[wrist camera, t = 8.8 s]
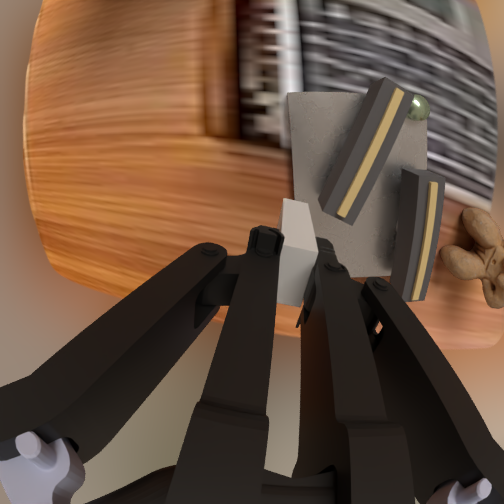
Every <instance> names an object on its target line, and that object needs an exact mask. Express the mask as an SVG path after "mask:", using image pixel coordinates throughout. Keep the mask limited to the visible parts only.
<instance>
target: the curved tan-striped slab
mask: <svg viewBox="0 0 504 504" xmlns="http://www.w3.org/2000/svg"><path fill="white" fill-rule="evenodd" d="M444 191H445V177H442V176H440V175H437V174H435V173H432V172H430V171H427V170H422V169H409V168H401V191H400V206H399V218H398V221H397V223H396V231H397V236H396V245H395V252H394V259H393V265H392V271H391V277H390V283H391V285H392V286H393V288H394V289H395V290H396V291H397V293H398V294H399V295H400V296H401V298H402V299H403V300H404V301H405V302H412V301H423V300H424V299H425V296H426V292H427V288H428V285H429V281H430V276H431V272H432V268H433V263H434V259H435V254H436V248H437V243H438V237H439V231H440V225H441V218H442V210H443V201H444Z"/></svg>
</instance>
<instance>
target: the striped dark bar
mask: <svg viewBox="0 0 504 504" xmlns="http://www.w3.org/2000/svg"><path fill="white" fill-rule="evenodd" d="M413 99H414V95H413V94H411V93H410V92H408V91H407V90H405V89H404V88H402V87H401V86H399V85H397V84H396V83H394V82H393V81H391V80H389V79H388V78H386V77H384V78H382V79H380V80H378V81H376V82H374V83H372V84H371V85H370V87H369V90H368V92H367V94H366V96H365V99H364V101H363V103H362V106H361V108H360V110H359V112H358V114H357V117H356V119H355V121H354V123H353V126H352V128H351V130H350V132H349V134H348V136H347V139H346V141H345V143H344V145H343V147H342V149H341V151H340V154H339V156H338V158H337V160H336V162H335V164H334V166H333V168H332V170H331V172H330V174H329V177H328V179H327V181H326V183H325V185H324V187H323V189H322V191H321V193H320V195H319V197H318V202H319V204H320V207H321V209H322V212H324V213H326V214H329V215H331V216H333V217H335V218H337V219H339V220H341V221H343V222H345V223H347V224H349V225H351V226H353V224H354V222H355V221H356V219H357V217H358V215H359V213H360V211H361V209H362V208H363V206H364V204H365V202H366V200H367V198H368V196H369V194H370V192H371V190H372V188H373V186H374V184H375V183H376V181H377V179H378V177H379V174H380V172H381V170H382V168H383V166H384V164H385V162H386V160H387V158H388V156H389V154H390V152H391V150H392V147H393V145H394V143H395V141H396V139H397V136H398V134H399V132H400V130H401V127H402V125H403V123H404V121H405V118H406V116H407V113H408V111H409V109H410V106H411V104H412V101H413Z"/></svg>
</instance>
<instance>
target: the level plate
mask: <svg viewBox="0 0 504 504" xmlns="http://www.w3.org/2000/svg"><path fill="white" fill-rule="evenodd" d="M287 96H288V107H289V119H290V131H291V145H292V161H293V178H294V199H295V201H299V202H304V203H308V206H309V211H310V215H311V220H312V224H313V229H314V233H315V236H316V237H320V238H325V239H328V240H329V241H330V242H331V243H332V244H333V247H334V250H335V254H336V257H337V260H338V262H339V263H341V264H343V265H344V266H345V267H346V268H347V270H348V272H349V275H350V277H373V276H391V271H392V265H393V259H394V252H395V245H396V236H397V231H396V223H397V221H398V218H399V206H400V191H401V168H409V169H422V170H427V120H426V119H427V118H428V116H429V114H430V107H429V104H428V102H427V101H426V99H425V98H423V97H422V96H420V95H414V99H413V101H412V104H411V106H410V109H409V111H408V113H407V116H406V118H405V121H404V123H403V125H402V127H401V130H400V132H399V134H398V136H397V139H396V141H395V143H394V145H393V147H392V150H391V152H390V154H389V156H388V158H387V160H386V162H385V164H384V166H383V168H382V170H381V172H380V174H379V177H378V179H377V181H376V183H375V184H374V186H373V188H372V190H371V192H370V194H369V196H368V198H367V200H366V202H365V204H364V206H363V208H362V209H361V211H360V213H359V215H358V217H357V219H356V221H355V222H354V224H353V226H351V225H349V224H347V223H345V222H343V221H341V220H339V219H337V218H335V217H333V216H331V215H329V214H326V213H324V212H322V209H321V207H320V204H319V202H318V197H319V195H320V193H321V191H322V189H323V187H324V185H325V183H326V181H327V179H328V177H329V174H330V172H331V170H332V168H333V166H334V164H335V162H336V160H337V158H338V156H339V154H340V151H341V149H342V147H343V145H344V143H345V141H346V139H347V136H348V134H349V132H350V130H351V128H352V126H353V123H354V121H355V119H356V117H357V114H358V112H359V110H360V108H361V106H362V103H363V101H364V99H365V96H366V94H360V93H341V92H291V93H287Z"/></svg>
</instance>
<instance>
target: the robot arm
mask: <svg viewBox="0 0 504 504" xmlns="http://www.w3.org/2000/svg"><path fill="white" fill-rule="evenodd" d="M303 298H304V305H303V308H302V311H301V314H300V316H299V319H298V322H297V324H296V328H298V327H299V325H300V324H301V390H300V391H301V392H300V393H301V394H300V426H299V448H298V459H297V462H296V465H295V467H294V470H293V473H292V477H291V478H290V477H286V476H284V475H280V474H277V473H274V472H271V471H268V470H265V469H264V464H265V456H266V448H267V440H268V431H269V418H268V416H267V415H266V404H267V396H268V387H269V378H270V369H271V358H272V348H273V338H274V327H275V316H276V304H277V303H281V304H286V305H291V306H296V307H300V306H301V303H302V301H303ZM220 306H229V308H228V312H227V315H226V318H225V321H224V325H223V328H222V331H221V334H220V338H219V341H218V344H217V347H216V350H215V354H214V357H213V360H212V363H211V367H210V370H209V373H208V376H207V380H206V383H205V386H204V389H203V393H202V396H201V399H200V401H199V402H197V404H196V406H195V408H194V411H193V414H192V416H191V420H190V423H189V426H188V429H187V432H186V436H185V439H184V442H183V445H182V449H181V452H180V455H179V458H178V461H177V465H173V466H169V467H165V468H162V469H159V470H156V471H154V472H151V473H150V474H148V475H146V476H144V477H142V478H140V479H138V480H136V481H134V482H132V483H130V484H128V485H127V486H124V487H122V488H120V489H118V490H116V491H113V492H111V493H109V494H107V495H105V496H102V497H100V498H97V499H95V500H93V501H90V502H88V503H85V504H415V497H416V499H417V501H418V502H419V503H420V504H504V450H503V449H502V448H501V447H500V446H499V445H498V444H497V442H496V441H495V440H494V439H493V438H492V436H491V434H490V432H489V430H488V428H487V426H486V424H485V422H484V420H483V419H482V417H481V415H480V413H479V411H478V410H477V408H476V406H475V404H474V403H473V401H472V400H471V397H470V396H469V394H468V392H467V391H466V389H465V387H464V386H463V384H462V382H461V381H460V379H459V378H458V376H457V375H456V373H455V371H454V370H453V368H452V367H451V365H450V364H449V362H448V361H447V359H446V358H445V356H444V355H443V354H442V352H441V350H440V349H439V347H438V346H437V345H436V343H435V342H434V340H433V339H432V338H431V336H430V335H429V333H428V332H427V331H426V329H425V328H424V326H423V325H422V324H421V322H420V321H419V320H418V318H417V317H416V316H415V314H414V313H413V312H412V310H411V309H410V308H409V307H408V305H407V304H406V303H405V301H404V300H403V299H402V298H401V296H400V295H399V294H398V293H397V291H396V290H395V289H394V288H393V286H392V285H391V284H390V283H388V282H387V281H385V280H384V279H381V278H380V277H368V278H367V279H366V281H365V283H364V284H362V283H359V282H357V281H355V280H352V279H351V278H350V275H349V272H348V270H347V268H346V267H345V266H344V265H343V264H341V263H339V262H338V260H337V257H336V254H335V250H334V247H333V244H332V243H331V242H330V241H329V240H328V239H325V238H320V237H316V236H315V233H314V229H313V224H312V220H311V215H310V211H309V206H308V203H304V202H299V201H295V200H291V199H286V198H284V199H283V204H282V208H281V213H280V217H279V222H278V226H277V229H276V228H271V227H267V226H262V225H260V226H258V227H255V228H252V229H251V231H250V236H249V241H248V247H247V251H246V253H245V254H243V255H238V256H227V250H226V249H225V248H224V247H222V246H220V245H218V244H214V243H209V242H206V243H200V244H198V245H195V246H194V247H192V248H191V249H190V250H188V251H187V252H185V253H184V254H183V255H181V256H180V257H179V258H177V259H176V260H174V261H173V262H172V263H170V264H169V265H168V266H166V267H165V268H163V269H162V270H161V271H159V272H158V273H157V274H155V275H154V276H153V277H151V278H150V279H149V280H147V281H146V282H145V283H143V284H142V285H141V286H139V287H138V288H137V289H135V290H134V291H133V292H132V293H130V294H129V295H128V296H126V297H125V298H124V299H122V300H121V301H120V302H119V303H117V304H116V305H115V306H113V307H112V308H111V309H110V310H109V311H107V312H106V313H105V314H103V315H102V316H101V317H99V318H98V319H97V320H96V321H94V322H93V323H92V324H91V325H89V326H88V327H87V328H86V329H84V330H83V331H82V332H81V333H79V334H78V335H77V336H76V337H75V338H74V339H72V340H71V341H70V342H68V343H67V344H66V345H65V346H64V347H63V348H61V349H60V350H59V351H58V352H56V353H55V354H54V355H53V356H52V357H51V358H49V359H48V360H47V361H46V362H45V363H44V364H42V365H41V366H40V367H39V368H38V369H37V370H35V371H34V372H33V373H32V374H31V375H29V376H27V377H25V378H22V379H20V380H17V381H15V382H12V383H10V384H7V385H5V386H3V387H0V481H1V483H2V485H3V488H4V490H5V491H6V494H7V496H8V498H9V500H10V502H11V504H70V501H71V498H72V496H73V494H74V493H75V492H76V491H77V490H78V489H79V488H80V487H81V486H82V485H83V482H84V481H85V469H84V466H83V464H84V463H86V462H88V461H89V460H90V459H92V458H93V457H94V456H95V455H97V454H98V453H99V452H100V451H101V450H102V449H103V448H104V447H105V446H106V445H107V444H108V443H109V442H110V441H111V440H112V439H113V438H114V436H115V435H116V434H117V433H118V432H119V430H120V429H121V428H122V427H123V426H124V425H125V423H126V422H127V421H128V420H129V419H130V418H131V416H132V415H133V414H134V413H135V411H136V410H137V409H138V408H139V407H140V406H141V404H142V403H143V402H144V401H145V400H146V398H147V397H148V396H149V395H150V394H151V392H152V391H153V390H154V389H155V388H156V386H157V385H158V384H159V383H160V382H161V380H162V379H163V378H164V377H165V376H166V374H167V373H168V372H169V370H170V369H171V368H172V367H173V366H174V365H175V363H176V362H177V361H178V359H180V357H181V356H182V355H183V353H184V352H185V351H186V350H187V349H188V348H189V346H190V345H191V344H192V343H193V341H194V340H195V339H196V338H197V337H198V335H199V334H200V333H201V332H202V330H203V329H204V328H205V327H206V325H207V324H208V323H209V322H210V321H211V319H212V318H213V317H214V316H215V314H216V313H217V312H218V311H219V308H220ZM379 321H380V322H381V324H382V326H383V327H382V329H381V331H380V332H379V334H378V333H377V332H376V330H375V328H376V327H377V325H378V323H379Z"/></svg>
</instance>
